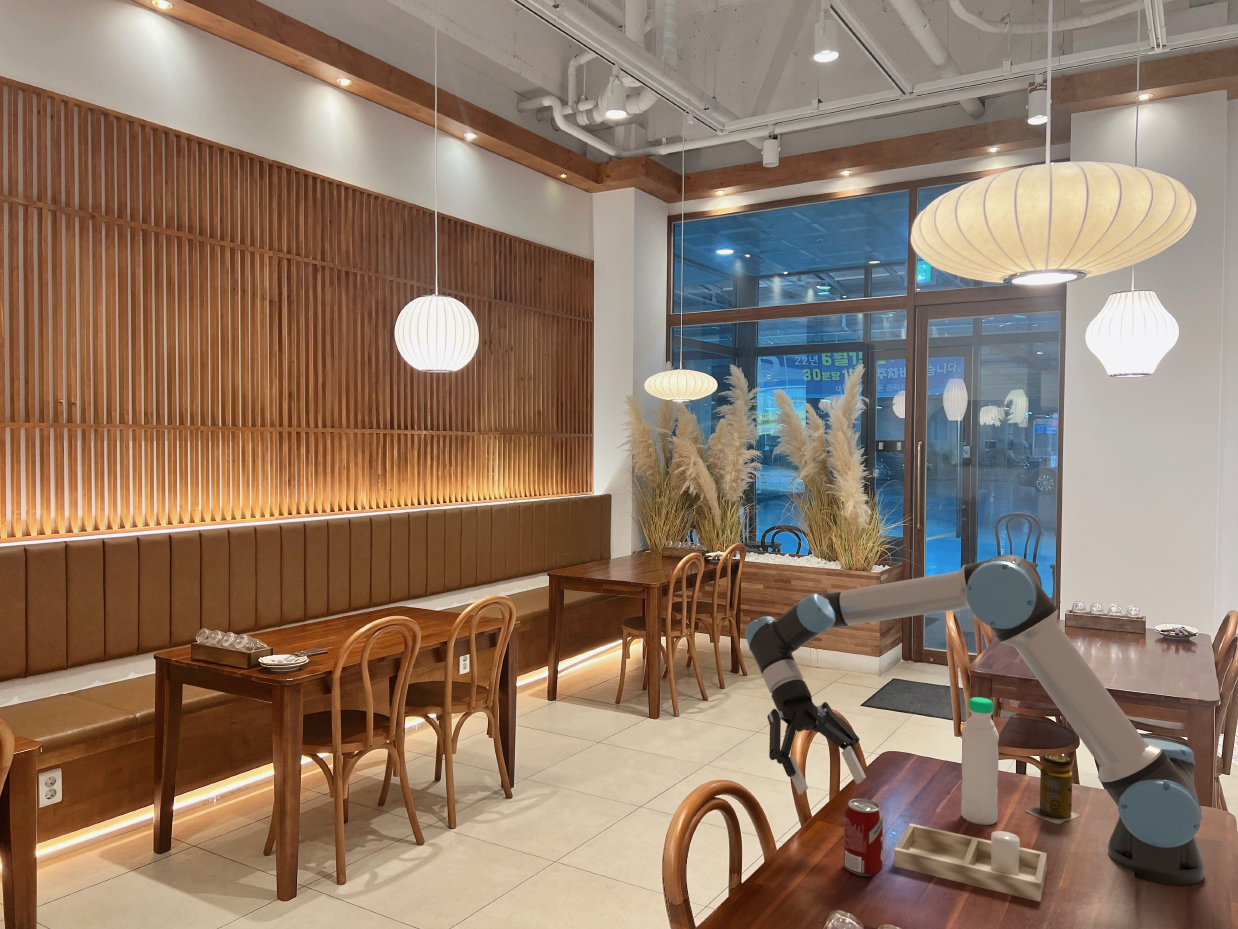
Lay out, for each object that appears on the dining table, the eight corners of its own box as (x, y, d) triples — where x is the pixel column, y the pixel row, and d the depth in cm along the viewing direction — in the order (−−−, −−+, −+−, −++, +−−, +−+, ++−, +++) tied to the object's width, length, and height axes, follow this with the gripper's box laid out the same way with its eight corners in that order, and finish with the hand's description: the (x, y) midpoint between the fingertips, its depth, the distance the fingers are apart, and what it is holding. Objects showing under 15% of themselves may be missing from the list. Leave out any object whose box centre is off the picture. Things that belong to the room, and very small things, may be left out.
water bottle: (1004, 821, 180) (1006, 701, 180) (984, 829, 176) (986, 706, 176) (973, 809, 186) (975, 693, 185) (953, 816, 182) (955, 698, 182)
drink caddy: (1046, 875, 157) (1046, 853, 157) (1040, 907, 146) (1040, 883, 146) (909, 843, 169) (909, 823, 169) (894, 871, 158) (894, 849, 158)
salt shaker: (1020, 873, 155) (1020, 835, 155) (1017, 884, 151) (1018, 844, 151) (992, 867, 158) (993, 829, 158) (989, 878, 154) (989, 838, 154)
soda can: (860, 882, 154) (861, 815, 154) (836, 865, 160) (837, 800, 160) (890, 875, 157) (891, 809, 156) (865, 858, 163) (866, 795, 163)
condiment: (1080, 815, 183) (1081, 759, 183) (1058, 825, 179) (1059, 767, 178) (1047, 803, 189) (1048, 749, 189) (1024, 812, 185) (1025, 756, 184)
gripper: (828, 690, 186) (874, 785, 173) (728, 703, 176) (769, 805, 163) (844, 671, 181) (893, 767, 168) (743, 684, 171) (787, 787, 158)
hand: (833, 786), depth 165 cm, fingers open, 13 cm apart
